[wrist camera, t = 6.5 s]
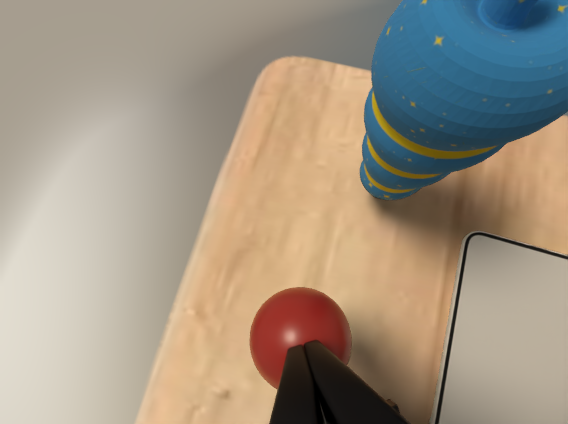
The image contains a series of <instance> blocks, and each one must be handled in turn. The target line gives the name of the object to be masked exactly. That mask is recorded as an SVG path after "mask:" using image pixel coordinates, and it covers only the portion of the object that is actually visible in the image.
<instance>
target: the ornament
mask: <svg viewBox="0 0 568 424" xmlns="http://www.w3.org/2000/svg"><path fill="white" fill-rule="evenodd" d="M567 111H568V0H403V1H402V2H401V3H400V5H399V6H398V8H397V9H396V10H395V12H394V13H393V14H392V15H391V17H390V18H389V20H388V21H387V23H386V25H385V27H384V29H383V31H382V33H381V34H380V36H379V38H378V41H377V44H376V47H375V51H374V55H373V60H372V89H371V90H370V92H369V94H368V97H367V100H366V103H365V109H364V122H365V128H366V134H365V136H364V140H363V144H362V155H363V161H362V163H361V167H360V178H361V182H362V184H363V186H364V187H365V189H366V190H367V191H368V192H369V193H370V194H371V195H373V196H374V197H376V198H380V199H384V200H398V199H402V198H405V197H408V196H410V195H412V194H414V193H416V192H417V191H418V190H419V189H421V188H422V187H425V186H428V185H431V184H433V183H435V182H437V181H439V180H441V179H443V178H444V177H446V176H447V175H448V174H450V173H451V172H454V171H459V170H462V169H465V168H468V167H471V166H473V165H476V164H478V163H480V162H482V161H484V160H485V159H487V158H489V157H490V156H492V155H493V154H495V153H496V152H498V151H499V150H500V149H501V148H502V147H503V146H504V145H505V144H506V143H508V142H511V141H514V140H517V139H520V138H522V137H525V136H528V135H530V134H532V133H534V132H536V131H538V130H540V129H541V128H543V127H545V126H546V125H548V124H550V123H551V122H553V121H555V120H556V119H558V118H559V117H561V116H562V115H563V114H565V113H566V112H567Z"/></svg>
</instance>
